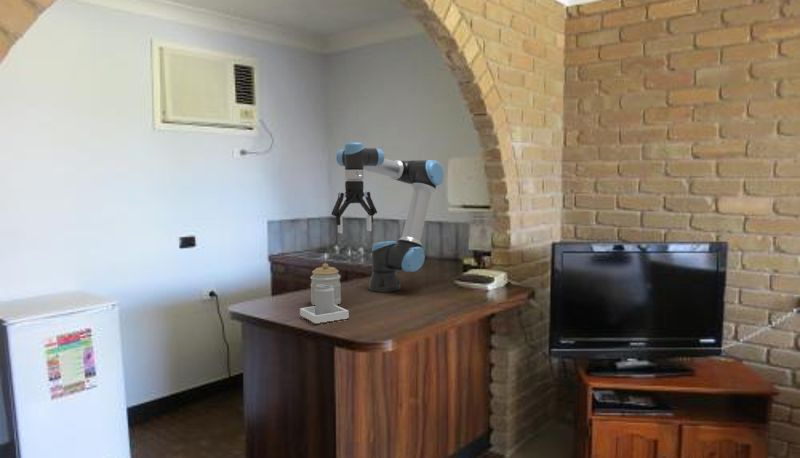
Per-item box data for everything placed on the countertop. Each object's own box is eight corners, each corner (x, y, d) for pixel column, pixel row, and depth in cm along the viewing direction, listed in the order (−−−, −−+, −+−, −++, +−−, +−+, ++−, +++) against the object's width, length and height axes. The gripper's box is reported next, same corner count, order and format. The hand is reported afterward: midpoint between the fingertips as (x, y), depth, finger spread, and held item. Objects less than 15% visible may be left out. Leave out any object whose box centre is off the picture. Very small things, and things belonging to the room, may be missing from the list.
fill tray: (300, 317, 213) (299, 308, 212) (332, 311, 220) (332, 303, 220) (315, 325, 201) (315, 316, 201) (348, 319, 209) (348, 310, 208)
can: (330, 318, 206) (330, 287, 205) (312, 317, 208) (311, 286, 206) (336, 313, 214) (336, 283, 212) (318, 312, 215) (318, 282, 214)
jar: (346, 301, 238) (345, 261, 236) (333, 308, 226) (332, 266, 224) (319, 299, 242) (318, 260, 240) (305, 306, 230) (304, 264, 228)
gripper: (331, 181, 213) (331, 234, 215) (384, 180, 227) (385, 230, 229) (322, 180, 219) (323, 232, 221) (375, 180, 233) (375, 229, 235)
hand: (354, 231), depth 225 cm, fingers open, 13 cm apart
